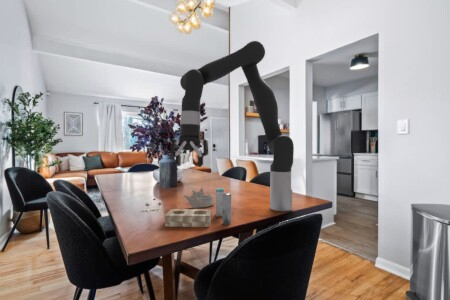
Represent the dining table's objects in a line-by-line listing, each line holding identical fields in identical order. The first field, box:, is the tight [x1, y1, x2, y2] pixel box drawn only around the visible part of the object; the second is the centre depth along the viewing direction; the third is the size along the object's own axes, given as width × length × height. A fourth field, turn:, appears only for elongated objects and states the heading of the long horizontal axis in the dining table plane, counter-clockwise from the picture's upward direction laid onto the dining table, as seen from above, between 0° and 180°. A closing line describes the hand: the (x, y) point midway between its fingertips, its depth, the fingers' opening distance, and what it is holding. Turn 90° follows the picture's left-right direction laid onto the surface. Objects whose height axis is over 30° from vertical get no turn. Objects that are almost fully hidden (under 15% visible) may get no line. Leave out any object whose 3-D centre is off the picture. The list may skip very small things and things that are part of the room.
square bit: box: [215, 187, 225, 217], centre depth 98 cm, size 3×3×11 cm
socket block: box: [164, 208, 213, 228], centre depth 89 cm, size 16×8×4 cm, turn 88°
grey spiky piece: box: [183, 187, 215, 209], centre depth 115 cm, size 13×11×10 cm
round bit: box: [222, 192, 232, 226], centre depth 88 cm, size 3×3×11 cm
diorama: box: [144, 198, 163, 212], centre depth 115 cm, size 9×27×4 cm, turn 16°
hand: (189, 166), depth 91 cm, fingers open, 8 cm apart
